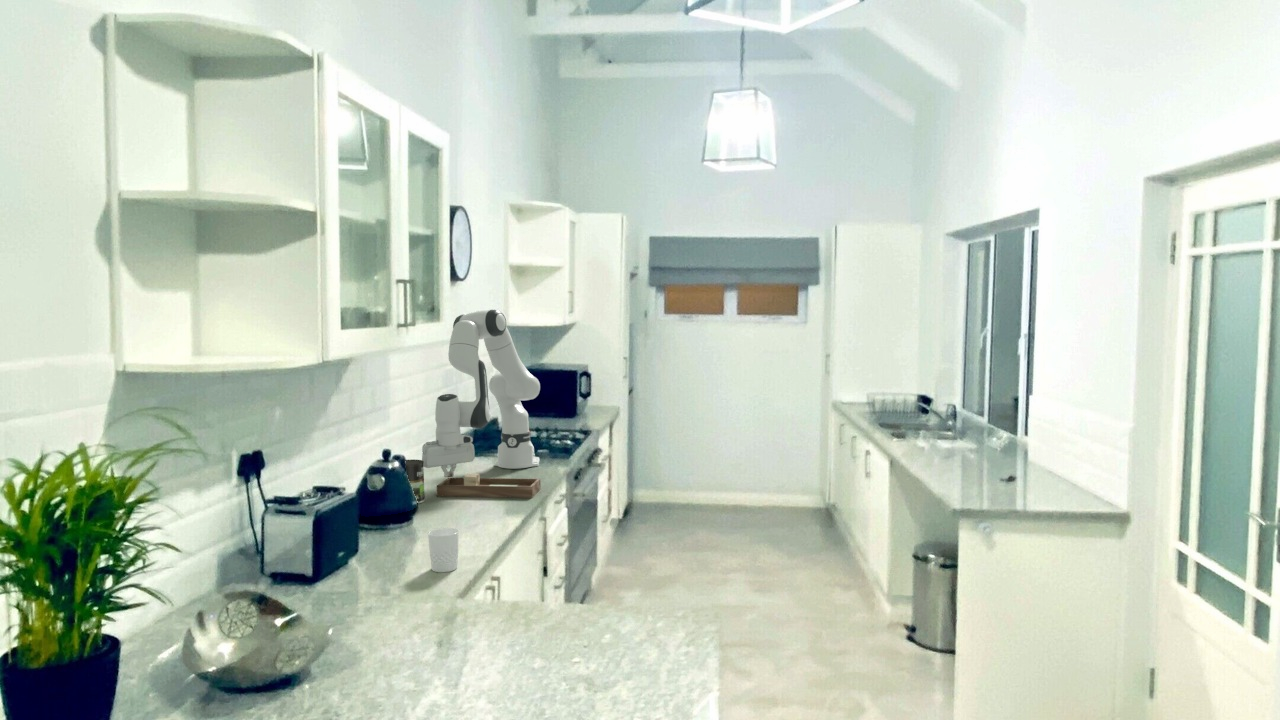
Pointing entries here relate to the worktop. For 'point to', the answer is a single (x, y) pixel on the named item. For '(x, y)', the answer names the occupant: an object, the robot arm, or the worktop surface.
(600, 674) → the worktop surface
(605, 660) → the worktop surface
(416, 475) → the coffee can
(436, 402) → the robot arm
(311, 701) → the worktop surface
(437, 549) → the white cup
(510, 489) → the track
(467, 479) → the birch block
